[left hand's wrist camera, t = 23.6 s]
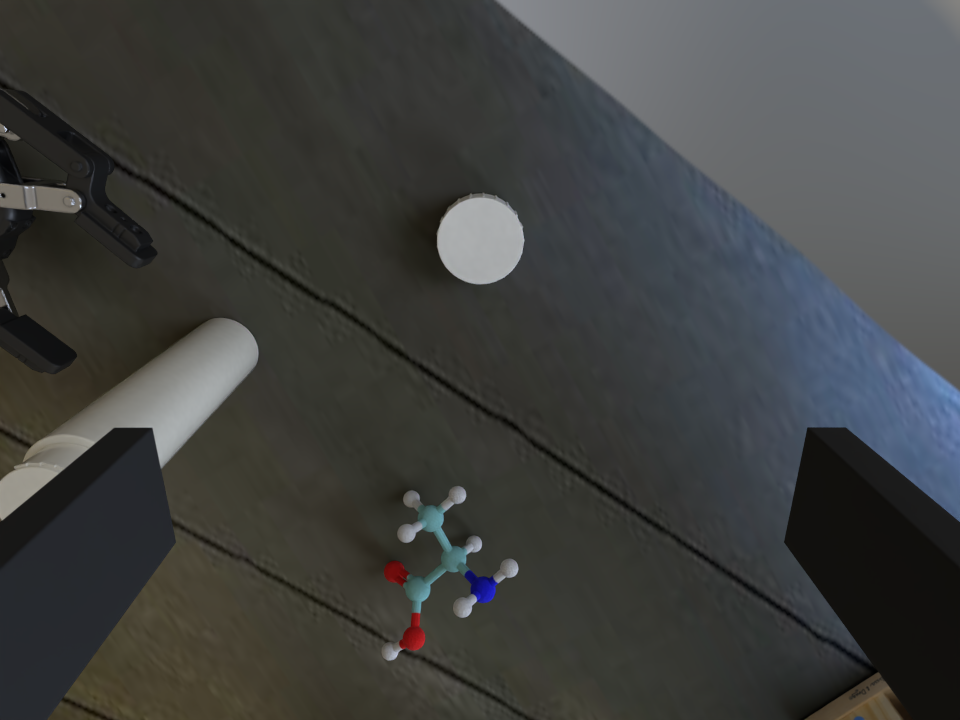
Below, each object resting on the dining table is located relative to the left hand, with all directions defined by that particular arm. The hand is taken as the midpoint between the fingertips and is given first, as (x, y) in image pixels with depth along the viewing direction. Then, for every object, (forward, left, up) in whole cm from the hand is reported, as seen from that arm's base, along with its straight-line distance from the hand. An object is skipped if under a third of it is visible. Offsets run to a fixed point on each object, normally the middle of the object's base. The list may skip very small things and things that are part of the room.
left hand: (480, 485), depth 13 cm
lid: (0, 0, -28) cm, 28 cm away
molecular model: (-22, -8, -29) cm, 37 cm away
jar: (-15, +12, -29) cm, 35 cm away
